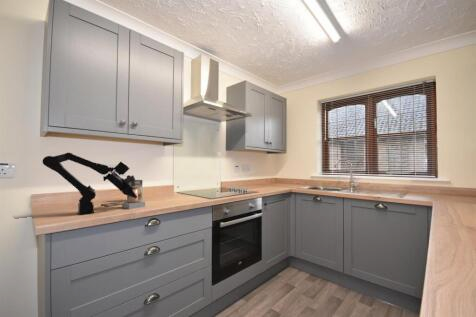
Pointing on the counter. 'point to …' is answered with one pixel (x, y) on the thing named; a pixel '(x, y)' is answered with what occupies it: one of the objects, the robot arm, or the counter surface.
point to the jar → (135, 190)
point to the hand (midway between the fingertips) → (136, 197)
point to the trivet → (112, 204)
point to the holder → (133, 205)
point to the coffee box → (138, 183)
